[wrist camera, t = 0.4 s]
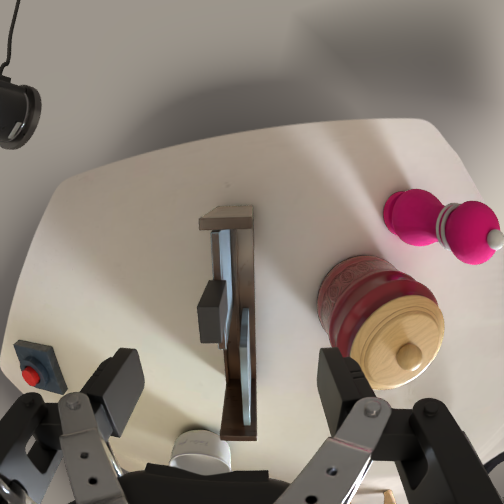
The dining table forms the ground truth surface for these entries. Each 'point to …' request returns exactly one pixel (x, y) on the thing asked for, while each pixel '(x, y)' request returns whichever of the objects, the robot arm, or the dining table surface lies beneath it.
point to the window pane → (217, 293)
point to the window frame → (239, 324)
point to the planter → (388, 497)
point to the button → (30, 376)
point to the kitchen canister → (380, 320)
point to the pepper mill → (444, 225)
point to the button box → (41, 365)
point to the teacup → (201, 453)
